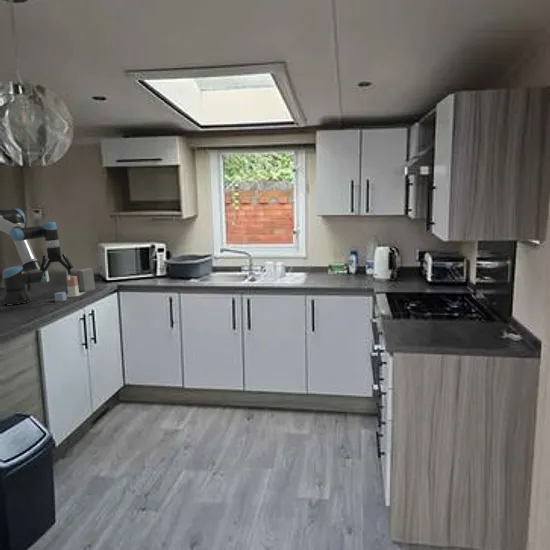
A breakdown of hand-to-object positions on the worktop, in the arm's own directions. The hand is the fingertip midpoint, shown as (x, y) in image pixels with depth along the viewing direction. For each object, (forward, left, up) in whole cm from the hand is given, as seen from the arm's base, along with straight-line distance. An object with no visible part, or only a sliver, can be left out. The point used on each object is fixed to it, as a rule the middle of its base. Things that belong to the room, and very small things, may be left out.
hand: (58, 280), depth 303 cm
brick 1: (0, 0, -14) cm, 14 cm away
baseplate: (+1, +16, -14) cm, 21 cm away
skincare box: (+5, +29, -14) cm, 33 cm away
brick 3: (+1, +16, -13) cm, 20 cm away
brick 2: (+1, +16, -7) cm, 17 cm away
